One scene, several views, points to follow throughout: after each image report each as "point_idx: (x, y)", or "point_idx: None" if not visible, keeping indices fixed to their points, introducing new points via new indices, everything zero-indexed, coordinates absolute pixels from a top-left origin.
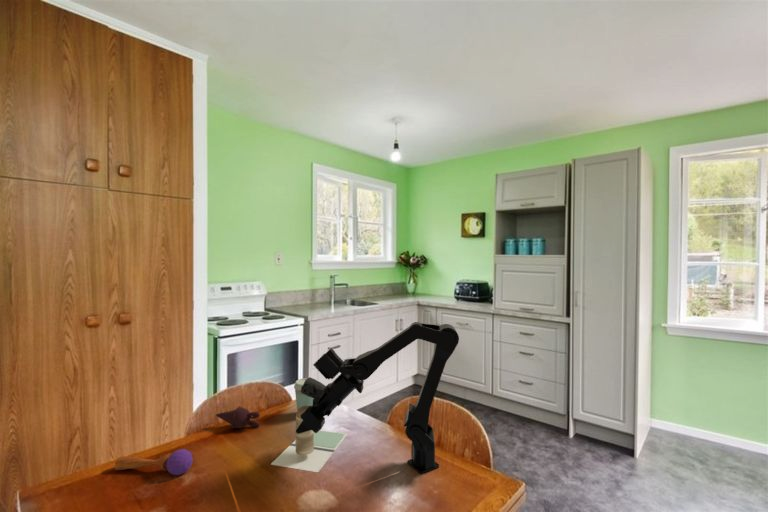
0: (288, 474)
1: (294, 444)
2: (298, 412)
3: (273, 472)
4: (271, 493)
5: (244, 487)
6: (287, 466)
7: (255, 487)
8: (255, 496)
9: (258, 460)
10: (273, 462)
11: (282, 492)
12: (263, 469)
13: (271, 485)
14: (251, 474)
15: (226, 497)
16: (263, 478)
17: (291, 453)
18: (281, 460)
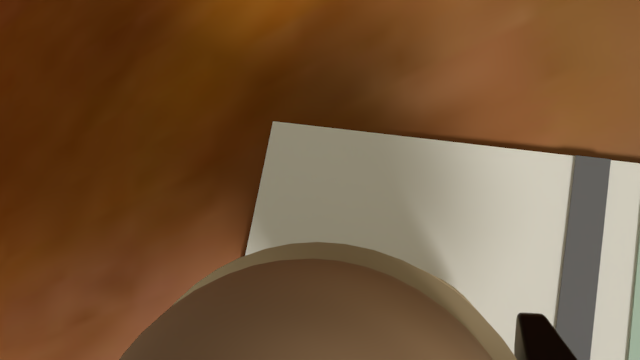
0: (187, 286)
1: (597, 192)
2: (130, 350)
3: (205, 177)
4: (19, 249)
5: (71, 79)
6: (251, 253)
7: (69, 137)
8: (2, 173)
9: (334, 14)
10: (295, 131)
11: (24, 310)
12: (234, 98)
13: (83, 220)
14: (181, 53)
15: (4, 37)
16: (145, 143)
17: (435, 219)
18: (324, 178)
